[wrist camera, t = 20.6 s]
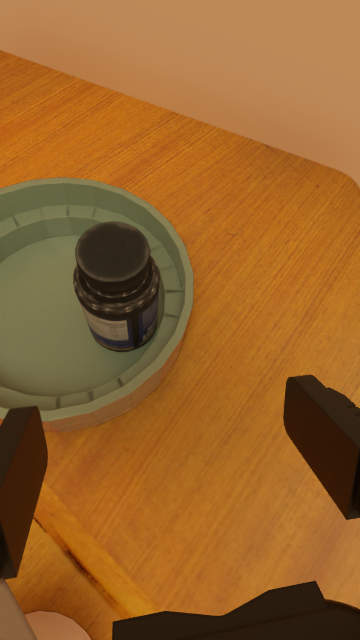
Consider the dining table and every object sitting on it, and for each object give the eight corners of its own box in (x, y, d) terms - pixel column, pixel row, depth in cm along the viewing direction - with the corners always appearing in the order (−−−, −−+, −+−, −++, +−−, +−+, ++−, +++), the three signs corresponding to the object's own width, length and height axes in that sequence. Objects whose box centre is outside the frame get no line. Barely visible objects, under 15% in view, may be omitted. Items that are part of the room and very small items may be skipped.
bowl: (160, 212, 38) (163, 167, 33) (210, 402, 30) (225, 384, 24) (-49, 235, 35) (-86, 190, 29) (-61, 461, 26) (-115, 455, 21)
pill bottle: (138, 284, 33) (134, 199, 23) (169, 335, 31) (180, 266, 21) (78, 310, 32) (47, 232, 22) (107, 366, 30) (88, 308, 20)
